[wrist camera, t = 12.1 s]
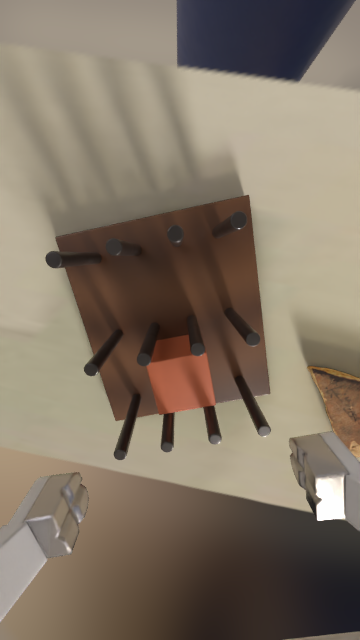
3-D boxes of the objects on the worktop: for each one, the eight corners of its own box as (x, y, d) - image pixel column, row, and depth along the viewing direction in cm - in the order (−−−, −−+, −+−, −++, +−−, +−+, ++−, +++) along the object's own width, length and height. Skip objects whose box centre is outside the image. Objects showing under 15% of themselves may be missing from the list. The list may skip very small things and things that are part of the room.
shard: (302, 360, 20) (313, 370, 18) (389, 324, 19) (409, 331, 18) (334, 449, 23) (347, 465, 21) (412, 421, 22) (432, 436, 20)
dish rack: (61, 238, 17) (-14, 227, 11) (245, 198, 17) (290, 159, 10) (118, 413, 22) (90, 485, 15) (266, 387, 21) (307, 450, 14)
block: (152, 341, 19) (145, 363, 15) (200, 331, 18) (206, 352, 15) (162, 384, 20) (158, 415, 16) (208, 375, 19) (216, 405, 16)
